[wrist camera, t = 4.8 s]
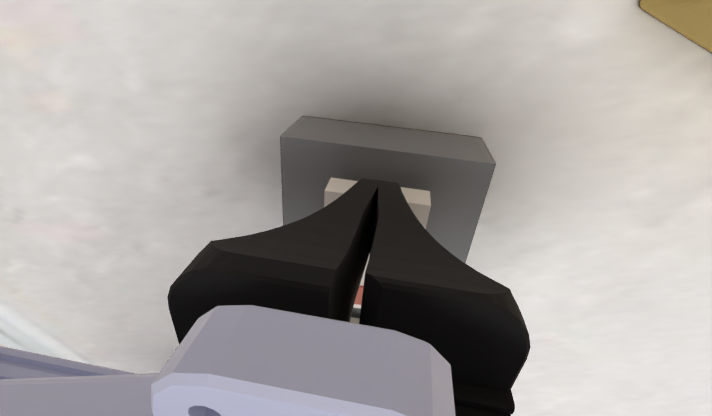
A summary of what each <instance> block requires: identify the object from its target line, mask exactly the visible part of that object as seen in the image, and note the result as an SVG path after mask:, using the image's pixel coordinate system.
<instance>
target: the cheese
mask: <svg viewBox="0 0 712 416" xmlns="http://www.w3.org/2000/svg"><path fill="white" fill-rule="evenodd" d="M640 7H641V8H642V9H643V10H644V11H646V12H647V13H649V14H651V15H652V16H654V17H655V18H657V19H658V20H660V21H661V22H663V23H665V24H666V25H668V26H669V27H671V28H673V29H674V30H676V31H677V32H679V33H680V34H682V35H684V36H685V37H687V38H689V39H690V40H692V41H693V42H695V43H697V44H698V45H700V46H702V47H703V48H705V49H707V50H708V51H710V52H712V0H641V2H640Z"/></svg>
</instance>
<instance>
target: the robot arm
mask: <svg viewBox="0 0 712 416" xmlns="http://www.w3.org/2000/svg"><path fill="white" fill-rule="evenodd" d="M369 253H370V257H369V261H368V265H367V268H366V272H365V278H364V287H363V295H362V303H361V312H360V320H359V324H356V323H350V319H351V314H352V310H353V306H354V302H355V299H356V295H357V292H358V289H359V286H360V282H361V279H362V276H363V273H364V270H365V266H366V263H367V260H368V256H369ZM168 304H169V310H170V314H171V317H172V321H173V324H174V327H175V331H176V334H177V338H178V341H179V346H178V348H177V349H176V350H175V352H174V353H173V355H172V356H171V357H170V359H169V360H168V362H167V363H166V364H165V366H164V367H163V369H162V370H161V372H160V373H155V374H135V373H130V372H125V371H120V370H115V369H110V368H105V367H100V366H95V365H91V364H86V363H81V362H76V361H71V360H66V359H61V358H56V357H51V356H46V355H41V354H36V353H31V352H26V351H22V350H17V349H12V348H7V347H2V346H0V416H511V415H510V414H513V412H514V409H515V405H514V401H513V397H512V393H511V388H512V386H513V384H514V382H515V380H516V378H517V376H518V374H519V373H520V371H521V369H522V367H523V365H524V363H525V361H526V359H527V356H528V353H529V350H530V340H529V334H528V331H527V328H526V325H525V322H524V319H523V317H522V314H521V312H520V310H519V307H518V305H517V303H516V301H515V299H514V297H513V295H512V293H511V291H510V289H509V288H507V287H505V286H503V285H501V284H500V283H498V282H496V281H494V280H492V279H490V278H488V277H486V276H485V275H483V274H481V273H479V272H477V271H476V270H474V269H473V268H471V267H470V266H468V265H467V264H465V263H464V262H462V261H461V260H459V259H458V258H457V257H455V256H454V255H453V254H451V253H450V252H449V251H448V250H447V249H445V248H444V247H443V246H442V245H441V244H439V243H438V242H437V241H436V240H435V239H434V238H433V237H432V236H431V235H430V234H429V232H428V231H427V230H426V229H425V228H424V227H423V226H422V224H421V223H420V222H419V220H418V219H417V217H416V216H415V214H414V213H413V211H412V210H411V208H410V206H409V205H408V203H407V201H406V199H405V197H404V195H403V193H402V190H401V187H400V185H399V184H398V183H396V182H388V181H381V180H374V179H366V178H362V179H360V180H359V181H358V182H357V183H355V184H354V185H353V186H352V187H351V188H350V189H349V190H347V191H346V192H345V193H344V194H342V195H341V196H340V197H338V198H337V199H336V200H334V201H333V202H331V203H330V204H328V205H327V206H325V207H324V208H322V209H320V210H319V211H317V212H315V213H313V214H311V215H309V216H307V217H305V218H303V219H300V220H298V221H295V222H292V223H290V224H287V225H284V226H281V227H279V228H275V229H272V230H268V231H265V232H260V233H256V234H252V235H247V236H242V237H235V238H229V239H223V240H215V241H211V242H210V243H209V244H208V245H207V246H206V247H205V248H204V249H203V250H202V251H201V252H200V253H199V254H198V255H197V256H196V257H195V259H194V260H193V261H192V262H191V263H190V264H189V265H188V267H187V268H186V269H185V270H184V271H183V272H182V274H181V275H180V276H179V277H178V278H177V279H176V281H175V282H174V283H173V284H172V285H171V287H170V291H169V294H168Z"/></svg>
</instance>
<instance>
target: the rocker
mask: <svg viewBox="0 0 712 416" xmlns="http://www.w3.org/2000/svg"><path fill="white" fill-rule="evenodd" d="M357 182H358V181H353V180H346V179H339V178H330V180H329V182H328V184H327V187H326V189H325V193H324V207H325V206H327V205H328V204H330V203H331V202H333V201H334V200H336V199H337V198H338V197H340V196H341V195H342V194H344V193H345V192H346V191H347V190H349V189H350V188H351V187H352V186H353V185H354V184H355V183H357ZM401 190H402V193H403V195H404V197H405V199H406V201H407V203H408V205H409V206H410V208H411V210H412V211H413V213H414V214H415V216H416V217H417V219H418V220H419V222H420V223H421V224H422V226H423V227H424V228H425V229H426V225H427V221H428V217H429V212H430V208H431V198H430V191H426V190H419V189H411V188H404V187H401ZM369 257H370V253H369V256H368V260H367V263H366V266H365V270H364V273H363V276H362V279H361V282H360V286H359V289H358V292H357V295H356V299H355V302H354V306H353V307H354V308H360V309H361V303H362V295H363V287H364V278H365V272H366V268H367V265H368V261H369Z"/></svg>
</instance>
